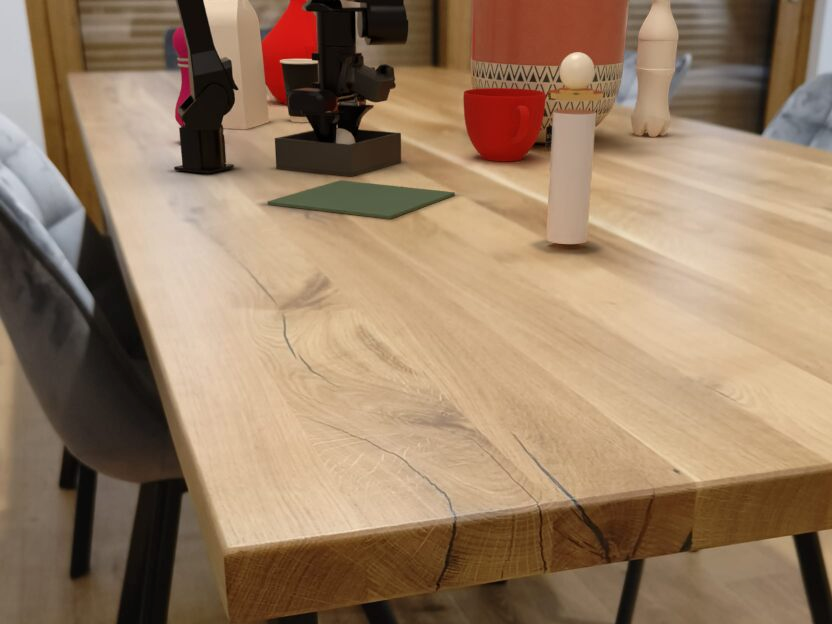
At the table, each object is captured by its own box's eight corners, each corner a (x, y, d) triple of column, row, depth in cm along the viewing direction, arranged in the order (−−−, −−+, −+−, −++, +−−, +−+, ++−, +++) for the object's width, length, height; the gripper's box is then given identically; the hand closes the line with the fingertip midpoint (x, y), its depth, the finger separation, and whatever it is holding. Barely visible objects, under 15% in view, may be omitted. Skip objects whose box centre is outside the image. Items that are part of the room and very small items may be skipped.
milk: (186, 126, 208) (173, -28, 196) (211, 119, 218) (201, -28, 206) (246, 129, 205) (236, -27, 194) (269, 122, 215) (261, -27, 204)
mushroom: (361, 163, 170) (360, 129, 167) (332, 166, 167) (331, 131, 165) (347, 159, 173) (346, 125, 171) (318, 161, 171) (317, 127, 169)
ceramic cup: (483, 170, 168) (485, 100, 164) (452, 153, 183) (453, 88, 178) (563, 167, 171) (567, 98, 167) (526, 151, 186) (529, 87, 181)
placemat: (390, 219, 135) (390, 215, 135) (267, 204, 142) (267, 201, 142) (454, 195, 150) (455, 192, 150) (340, 183, 157) (340, 180, 157)
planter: (510, 127, 213) (516, -30, 201) (641, 138, 201) (655, -27, 189) (439, 143, 192) (441, -30, 181) (580, 157, 180) (592, -27, 168)
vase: (246, 105, 240) (237, -50, 227) (281, 96, 256) (274, -49, 242) (325, 109, 235) (320, -49, 222) (356, 100, 251) (353, -48, 238)
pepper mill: (210, 146, 186) (201, 16, 177) (170, 144, 187) (158, 14, 179) (226, 140, 193) (218, 14, 184) (187, 138, 194) (177, 13, 185)
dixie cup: (330, 119, 220) (328, 59, 215) (310, 124, 213) (308, 62, 208) (295, 117, 222) (292, 58, 218) (274, 121, 216) (271, 60, 211)
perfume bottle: (602, 246, 124) (616, 52, 115) (573, 254, 120) (586, 55, 111) (559, 238, 127) (570, 49, 118) (530, 246, 123) (539, 51, 114)
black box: (351, 176, 162) (350, 145, 160) (276, 168, 167) (274, 138, 165) (401, 162, 174) (401, 132, 172) (329, 155, 179) (328, 126, 177)
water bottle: (624, 135, 204) (636, -15, 193) (636, 131, 210) (649, -15, 199) (661, 138, 201) (676, -14, 190) (673, 134, 207) (688, -14, 196)
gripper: (351, 51, 152) (353, 169, 159) (414, 44, 167) (414, 152, 174) (283, 48, 157) (288, 162, 164) (351, 41, 172) (353, 146, 179)
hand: (339, 155), depth 170 cm, fingers closed on mushroom, 5 cm apart
